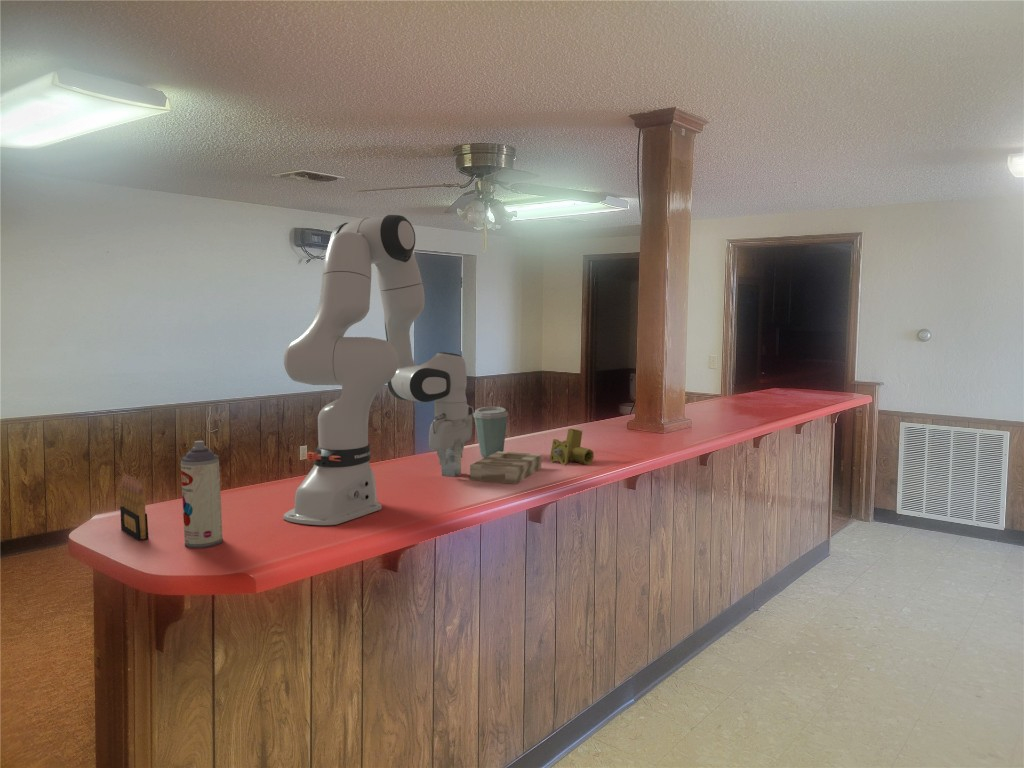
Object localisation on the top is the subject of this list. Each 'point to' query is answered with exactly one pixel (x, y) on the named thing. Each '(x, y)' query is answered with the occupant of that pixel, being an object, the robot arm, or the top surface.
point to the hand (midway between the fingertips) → (451, 461)
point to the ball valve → (571, 449)
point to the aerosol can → (201, 497)
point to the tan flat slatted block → (505, 467)
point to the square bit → (453, 460)
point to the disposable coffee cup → (490, 429)
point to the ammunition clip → (133, 508)
